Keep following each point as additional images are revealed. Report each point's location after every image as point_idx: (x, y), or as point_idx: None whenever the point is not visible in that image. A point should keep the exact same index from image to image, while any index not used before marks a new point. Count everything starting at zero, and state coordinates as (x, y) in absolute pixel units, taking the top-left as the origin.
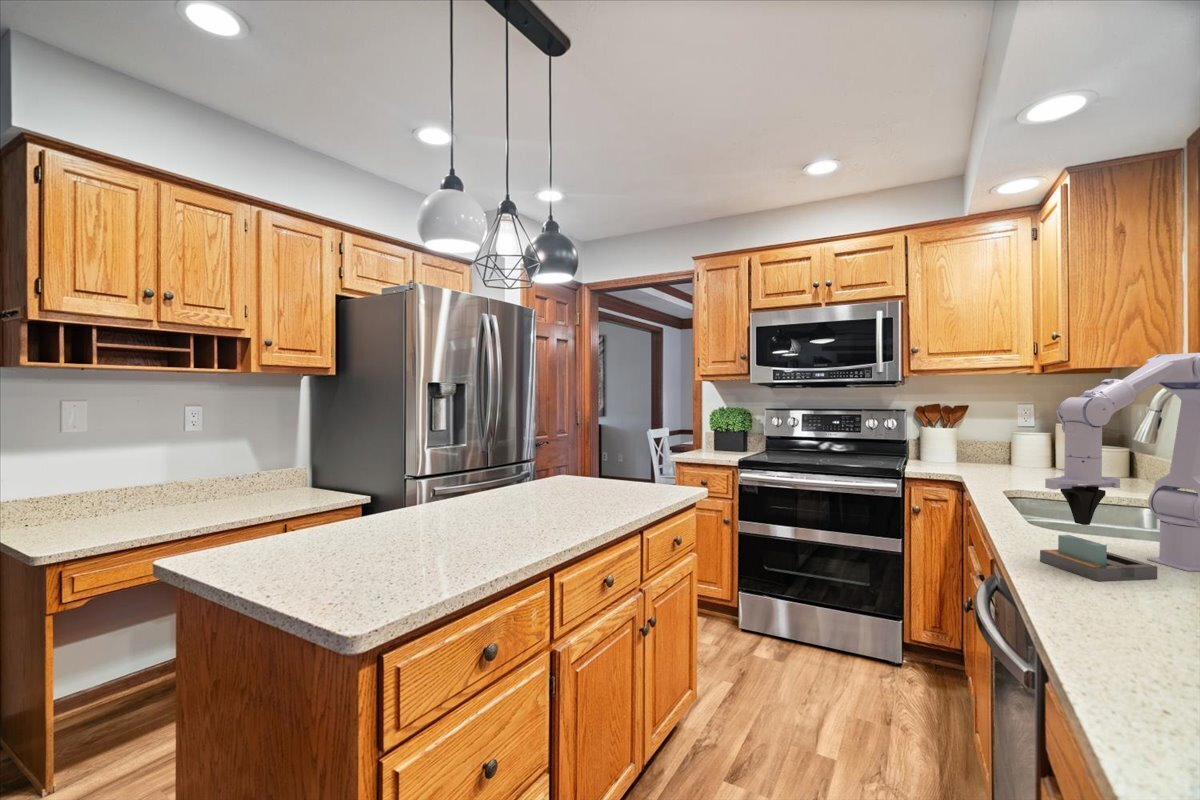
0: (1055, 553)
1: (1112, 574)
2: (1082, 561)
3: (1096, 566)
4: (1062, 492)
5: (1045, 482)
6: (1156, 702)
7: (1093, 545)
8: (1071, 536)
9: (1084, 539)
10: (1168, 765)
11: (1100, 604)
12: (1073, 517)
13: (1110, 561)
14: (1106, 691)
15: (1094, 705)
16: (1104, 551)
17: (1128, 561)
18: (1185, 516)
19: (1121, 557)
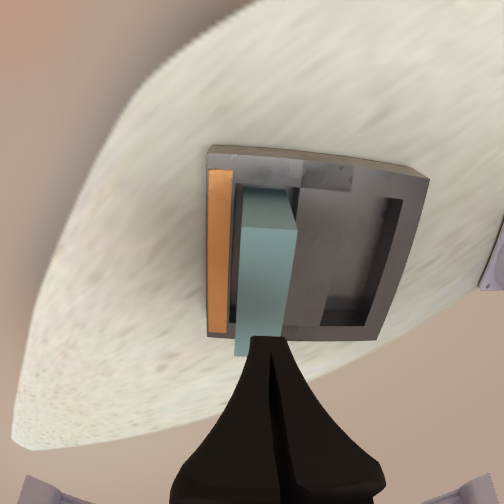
0: (207, 218)
1: None
2: (213, 301)
3: (215, 331)
4: (186, 466)
5: (18, 502)
6: (48, 440)
7: (235, 350)
8: (280, 253)
9: (282, 298)
10: (30, 447)
11: (117, 375)
12: (249, 351)
13: (314, 299)
14: (29, 428)
15: (19, 428)
16: None
17: (374, 294)
18: None
19: (388, 275)
